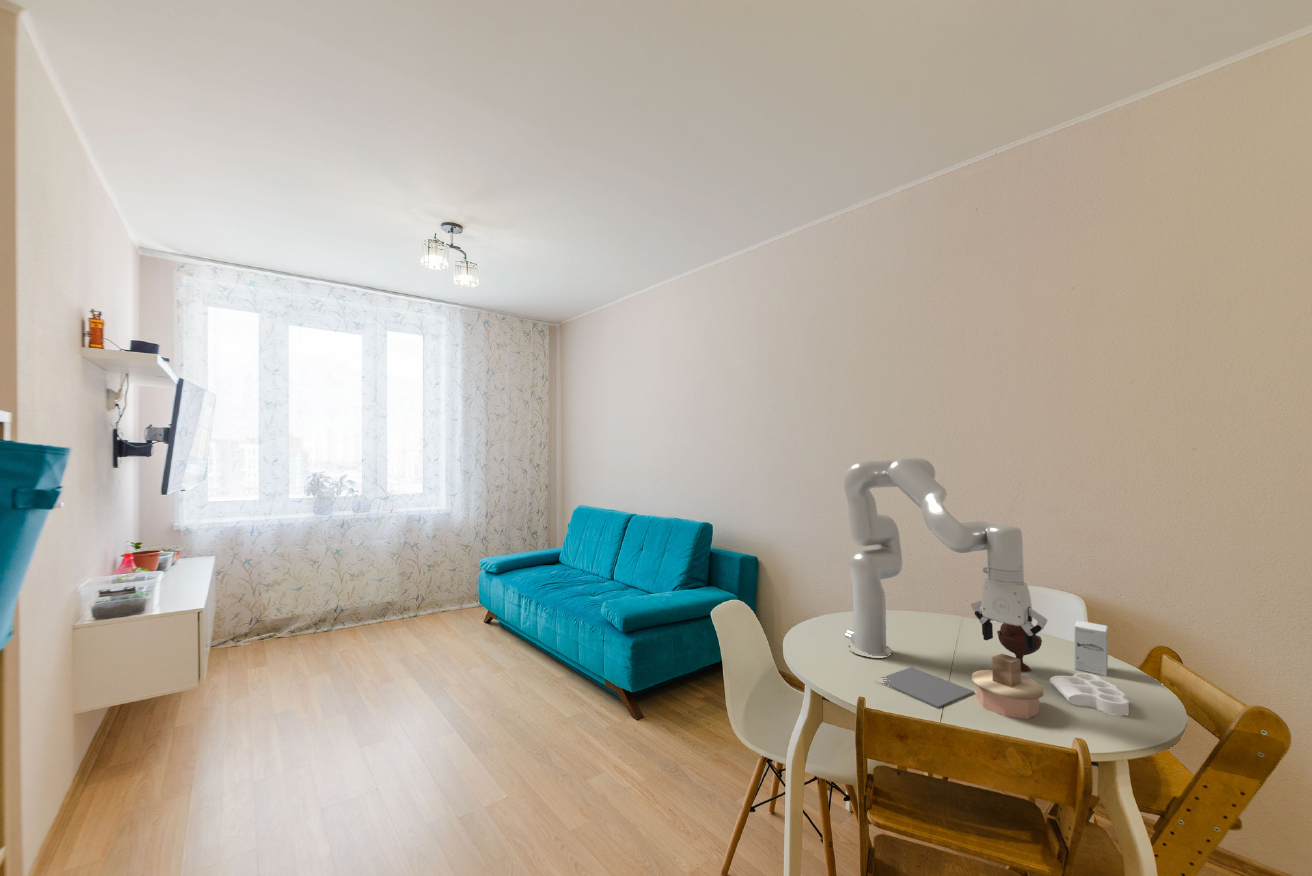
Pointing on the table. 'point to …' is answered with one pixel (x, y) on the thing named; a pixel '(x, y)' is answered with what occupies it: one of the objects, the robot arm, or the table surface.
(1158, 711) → the table surface
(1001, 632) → the ice cream bowl
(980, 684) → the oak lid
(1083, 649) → the supplement box
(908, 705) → the table surface
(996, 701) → the terracotta bowl
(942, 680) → the rubber mat
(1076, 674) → the white holed part
